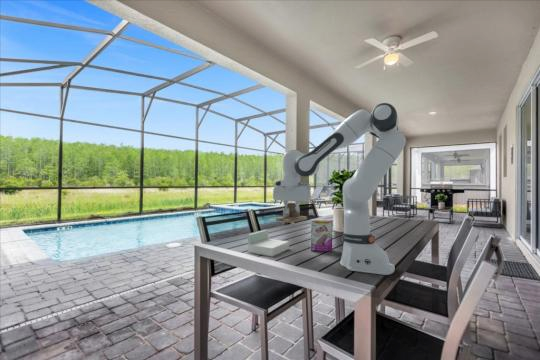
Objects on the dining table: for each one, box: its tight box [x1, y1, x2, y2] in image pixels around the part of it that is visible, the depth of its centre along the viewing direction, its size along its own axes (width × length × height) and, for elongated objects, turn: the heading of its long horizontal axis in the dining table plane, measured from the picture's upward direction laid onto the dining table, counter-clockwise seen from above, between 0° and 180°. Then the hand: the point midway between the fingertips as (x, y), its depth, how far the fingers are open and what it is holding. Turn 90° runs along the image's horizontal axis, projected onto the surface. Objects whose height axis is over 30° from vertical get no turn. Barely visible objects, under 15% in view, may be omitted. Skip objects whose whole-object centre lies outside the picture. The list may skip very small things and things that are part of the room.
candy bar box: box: [310, 218, 334, 253], centre depth 141 cm, size 11×5×16 cm, turn 84°
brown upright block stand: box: [275, 202, 308, 224], centre depth 133 cm, size 9×14×8 cm, turn 137°
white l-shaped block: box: [247, 229, 290, 257], centre depth 140 cm, size 15×17×9 cm
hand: (291, 209), depth 133 cm, fingers closed on brown upright block stand, 3 cm apart
